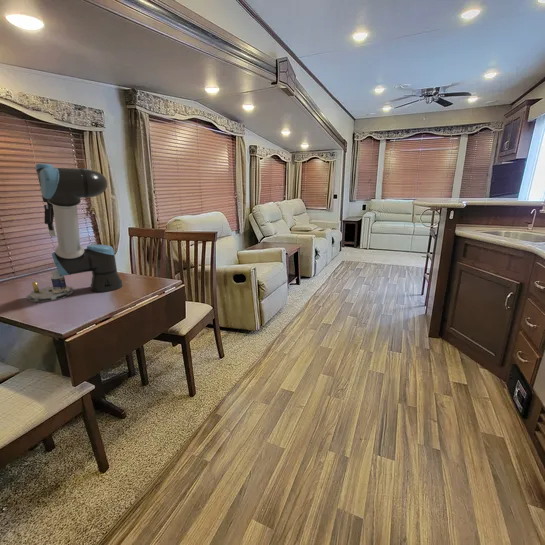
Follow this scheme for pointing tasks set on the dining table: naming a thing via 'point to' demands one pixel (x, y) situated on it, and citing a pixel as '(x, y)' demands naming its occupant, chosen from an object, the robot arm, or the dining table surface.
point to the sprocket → (47, 293)
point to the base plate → (51, 299)
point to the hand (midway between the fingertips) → (58, 234)
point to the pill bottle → (58, 281)
